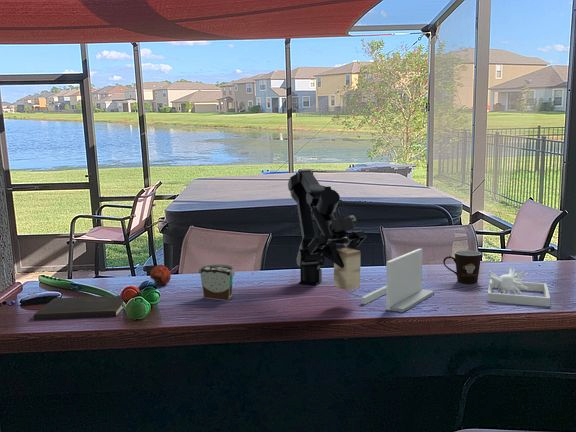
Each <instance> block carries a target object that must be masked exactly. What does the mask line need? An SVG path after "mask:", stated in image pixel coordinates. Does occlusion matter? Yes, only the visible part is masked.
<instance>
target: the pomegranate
mask: <svg viewBox="0 0 576 432" xmlns="http://www.w3.org/2000/svg"><path fill="white" fill-rule="evenodd" d="M168 267H169V265H168V264H167V265H165V266H164V265H156V266H154V267H152V269H150V273H149V274H150V275H149V276H150V277H149V278H150V279H152V280H153V281H154V283H153V284H157V285H162V286H165V285H167V284H168V283H169V282H170V281H171V277H172V275H171V274H172V273H171V271H170V270H169V268H168Z"/></svg>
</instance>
